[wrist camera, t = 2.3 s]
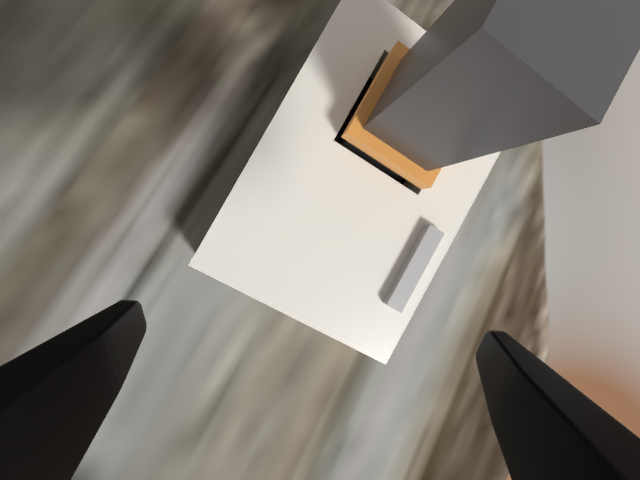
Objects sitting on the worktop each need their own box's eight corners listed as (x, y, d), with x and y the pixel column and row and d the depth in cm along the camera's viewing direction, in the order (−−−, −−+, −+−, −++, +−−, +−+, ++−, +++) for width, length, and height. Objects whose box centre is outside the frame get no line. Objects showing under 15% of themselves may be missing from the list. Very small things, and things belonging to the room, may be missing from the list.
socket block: (367, 344, 21) (389, 369, 18) (198, 258, 19) (185, 267, 15) (488, 122, 22) (532, 104, 19) (340, 12, 20) (358, -34, 16)
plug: (394, 194, 21) (605, 156, 8) (326, 150, 20) (449, 33, 7) (432, 125, 21) (693, -13, 9) (367, 79, 20) (554, -157, 8)
